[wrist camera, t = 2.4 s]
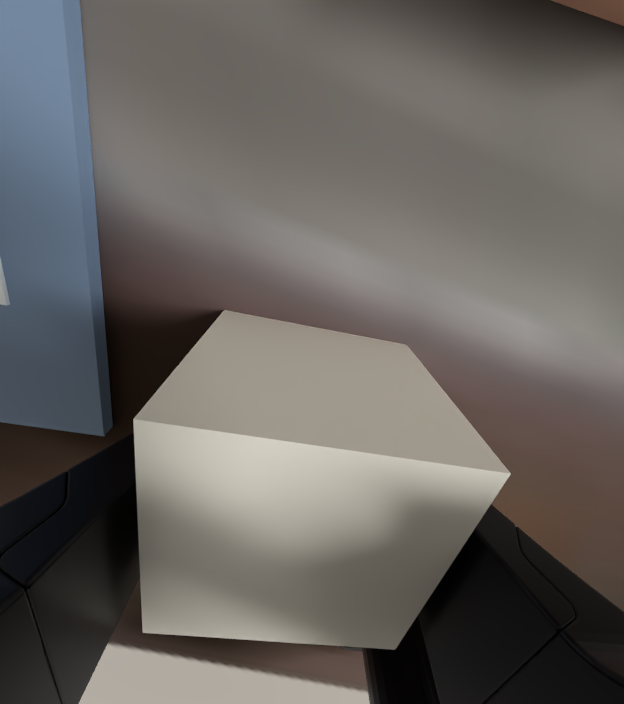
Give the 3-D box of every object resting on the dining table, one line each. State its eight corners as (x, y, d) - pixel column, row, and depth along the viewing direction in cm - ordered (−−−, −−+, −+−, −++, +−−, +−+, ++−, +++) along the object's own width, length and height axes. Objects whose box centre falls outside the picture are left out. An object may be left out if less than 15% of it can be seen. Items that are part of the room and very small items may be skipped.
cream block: (357, 475, 11) (394, 650, 7) (210, 455, 11) (142, 632, 6) (406, 344, 9) (511, 473, 5) (224, 309, 8) (132, 419, 4)
